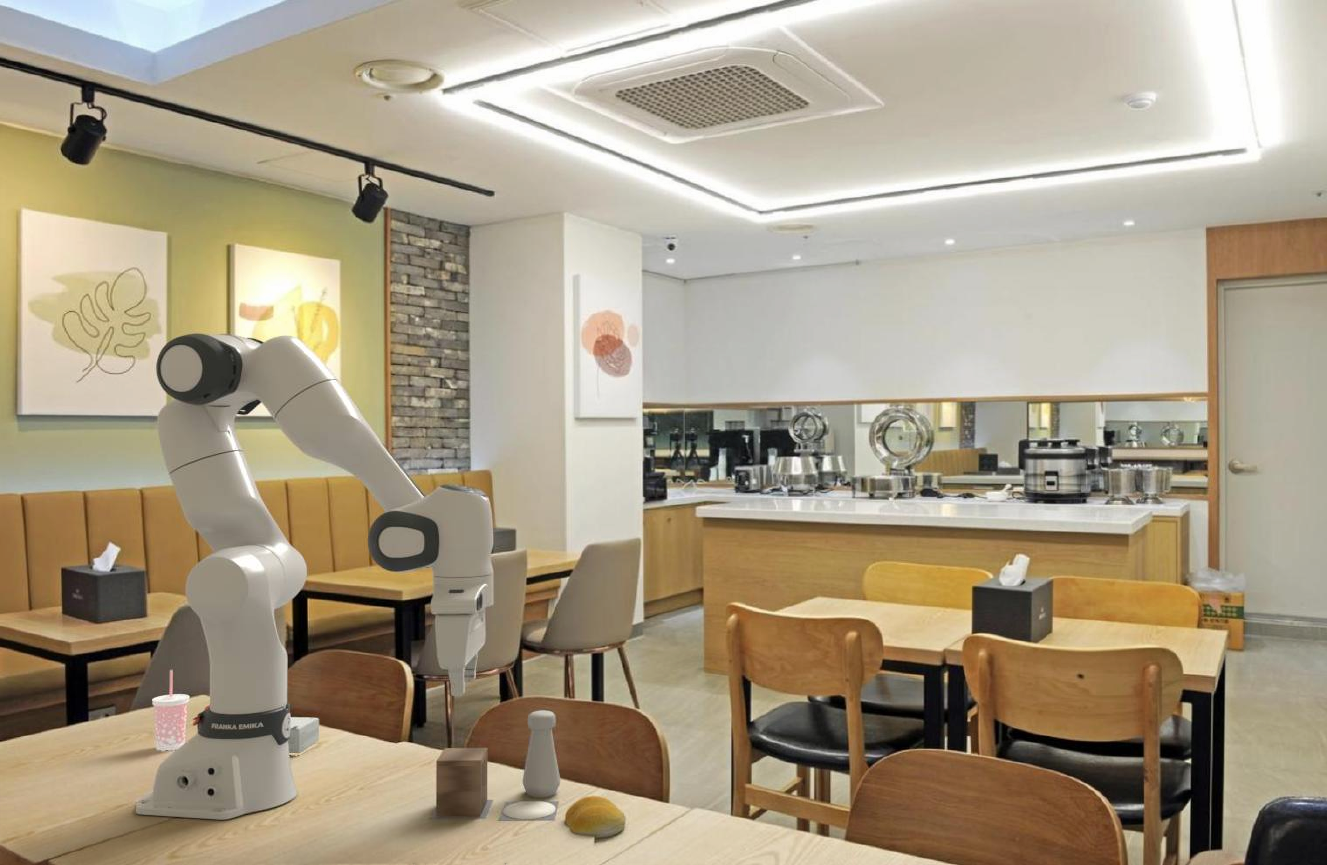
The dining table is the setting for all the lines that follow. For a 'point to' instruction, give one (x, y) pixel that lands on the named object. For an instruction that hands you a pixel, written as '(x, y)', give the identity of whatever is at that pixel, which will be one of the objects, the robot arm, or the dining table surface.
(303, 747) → the small box
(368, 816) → the dining table surface
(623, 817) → the bread roll
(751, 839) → the dining table surface
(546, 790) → the salt shaker
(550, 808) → the board
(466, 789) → the brown wooden block
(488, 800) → the board
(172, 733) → the beverage cup
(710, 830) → the dining table surface
